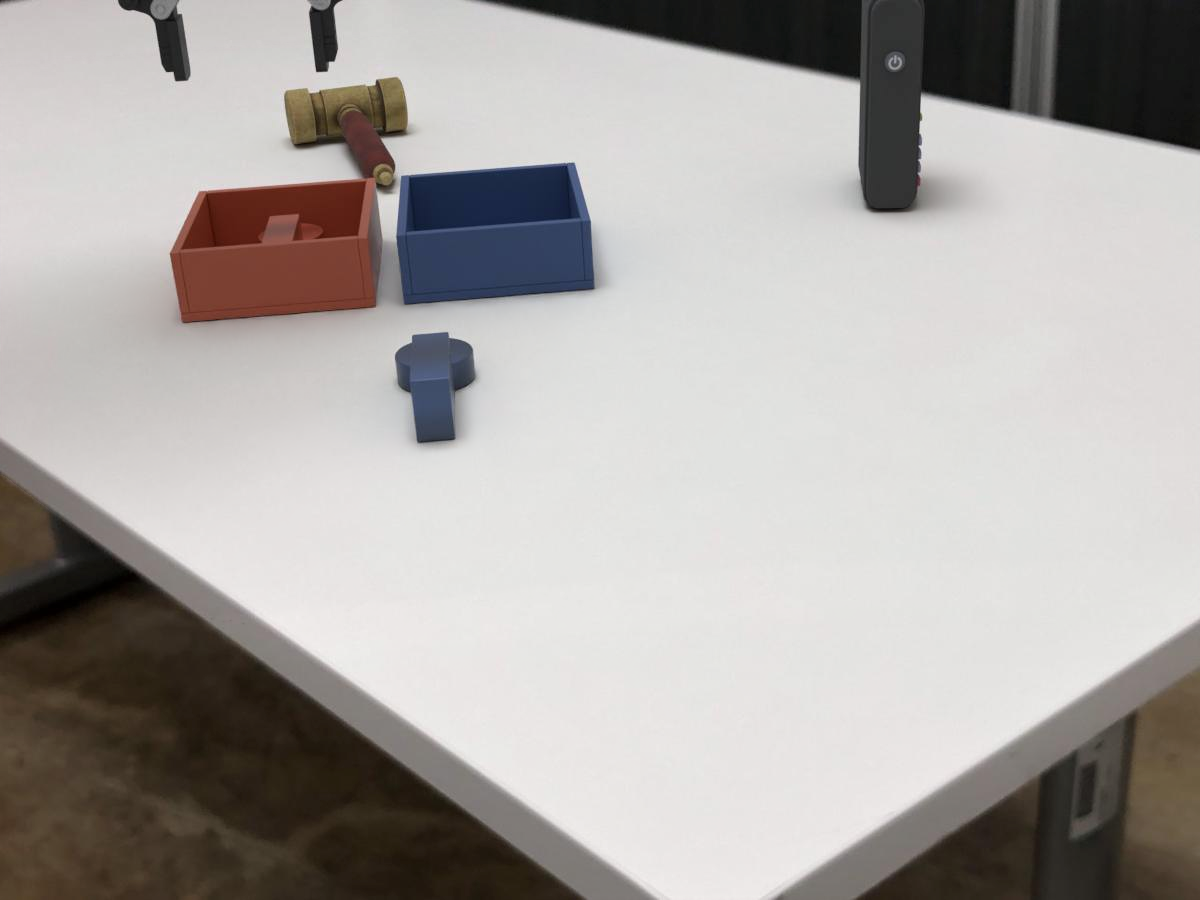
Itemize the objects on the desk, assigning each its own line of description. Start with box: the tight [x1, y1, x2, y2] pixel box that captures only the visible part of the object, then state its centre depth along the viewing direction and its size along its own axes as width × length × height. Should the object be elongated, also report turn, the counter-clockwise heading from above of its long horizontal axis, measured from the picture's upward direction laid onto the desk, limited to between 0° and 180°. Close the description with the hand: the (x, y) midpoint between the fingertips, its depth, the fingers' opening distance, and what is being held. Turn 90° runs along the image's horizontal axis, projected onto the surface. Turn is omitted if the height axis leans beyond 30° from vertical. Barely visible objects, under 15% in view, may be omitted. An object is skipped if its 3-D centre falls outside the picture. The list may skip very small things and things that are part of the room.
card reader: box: [857, 0, 926, 209], centre depth 112 cm, size 9×4×15 cm, turn 174°
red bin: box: [169, 177, 384, 323], centre depth 104 cm, size 12×13×5 cm
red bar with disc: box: [258, 214, 324, 244], centre depth 104 cm, size 10×4×4 cm, turn 5°
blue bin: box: [395, 161, 596, 305], centre depth 105 cm, size 12×13×5 cm
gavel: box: [283, 76, 409, 186], centre depth 130 cm, size 21×5×10 cm
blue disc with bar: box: [394, 331, 476, 443], centre depth 86 cm, size 10×4×4 cm, turn 5°
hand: (252, 74), depth 97 cm, fingers open, 8 cm apart
